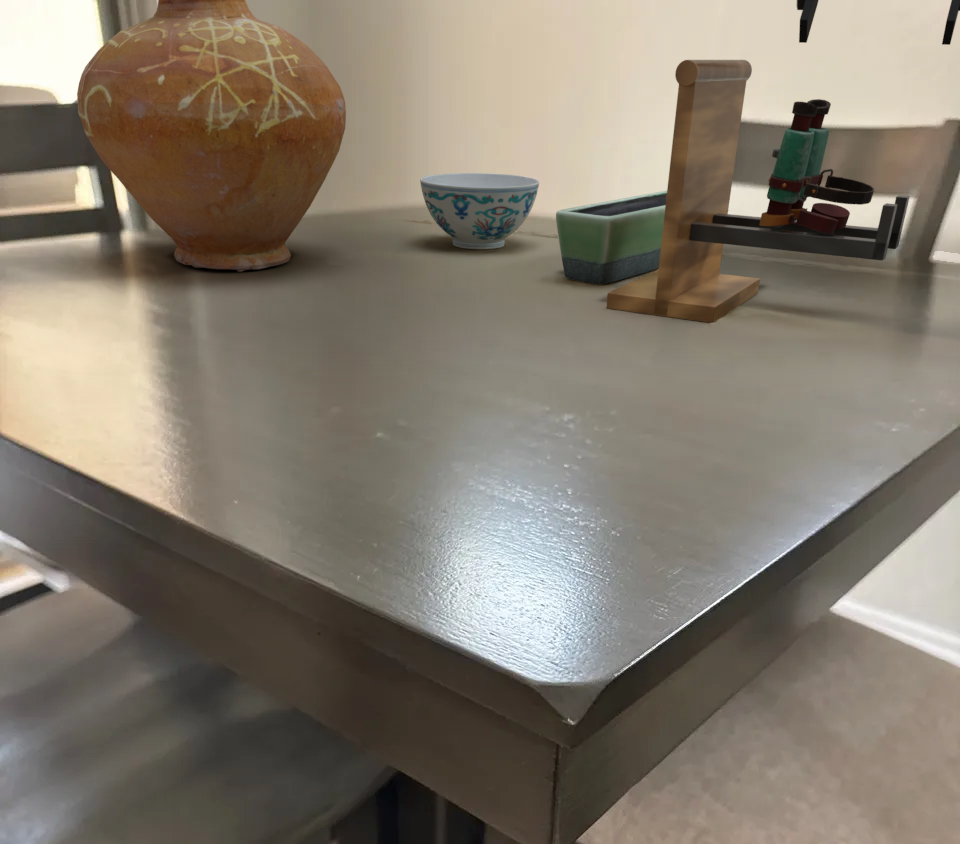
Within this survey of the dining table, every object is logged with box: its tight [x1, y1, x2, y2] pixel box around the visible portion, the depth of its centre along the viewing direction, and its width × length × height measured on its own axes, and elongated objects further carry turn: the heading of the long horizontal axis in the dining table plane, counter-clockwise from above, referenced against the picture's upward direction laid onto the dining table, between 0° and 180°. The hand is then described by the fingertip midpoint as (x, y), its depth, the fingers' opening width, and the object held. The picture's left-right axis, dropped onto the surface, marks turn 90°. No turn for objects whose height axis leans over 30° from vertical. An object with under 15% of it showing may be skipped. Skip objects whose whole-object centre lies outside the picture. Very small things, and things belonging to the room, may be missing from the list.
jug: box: [76, 0, 347, 272], centre depth 106 cm, size 28×28×30 cm
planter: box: [555, 190, 667, 285], centre depth 114 cm, size 28×7×7 cm, turn 142°
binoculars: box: [759, 98, 875, 234], centre depth 89 cm, size 9×11×10 cm
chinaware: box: [419, 172, 540, 250], centre depth 125 cm, size 15×15×8 cm
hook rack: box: [606, 59, 911, 324], centre depth 93 cm, size 24×17×22 cm
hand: (873, 32), depth 96 cm, fingers open, 13 cm apart
